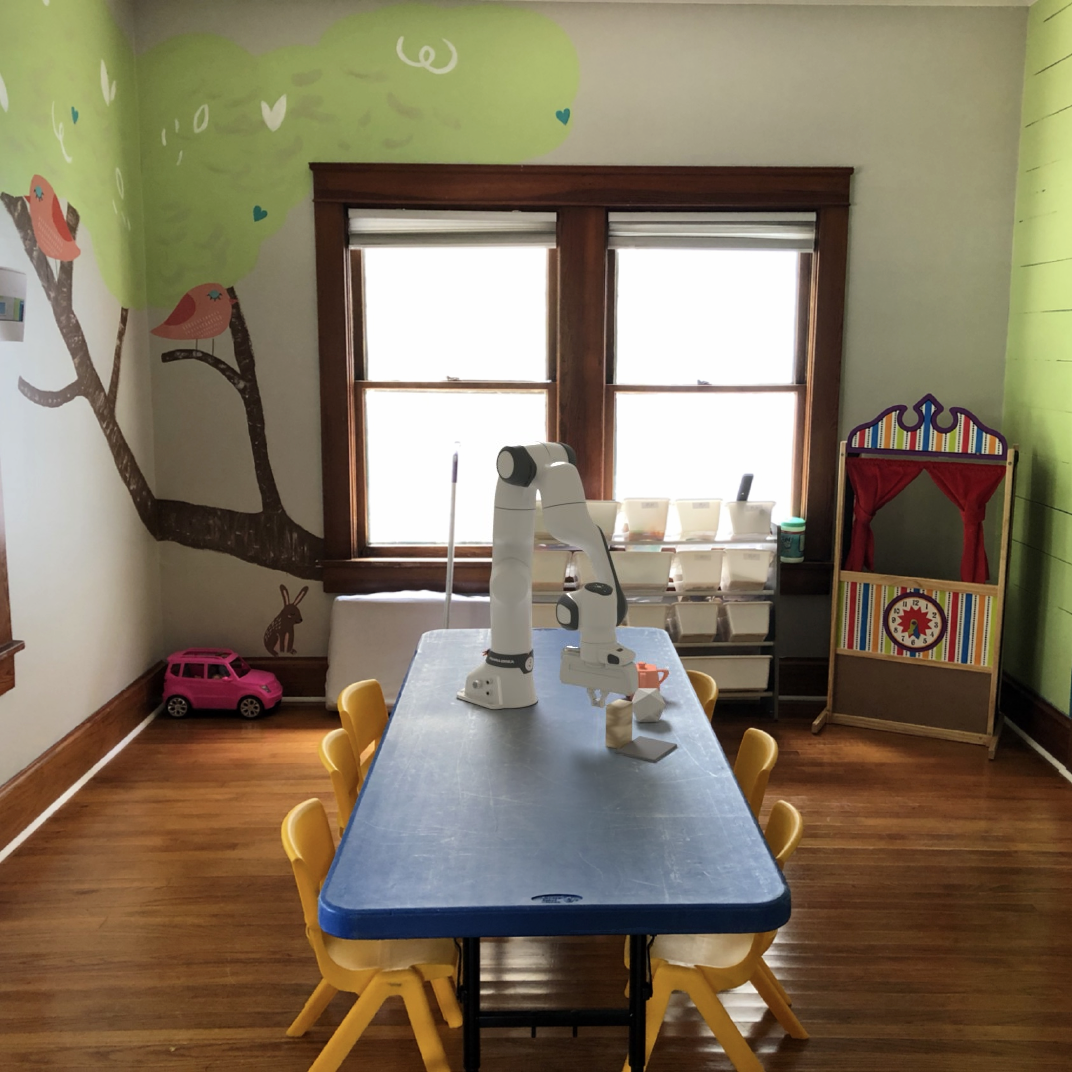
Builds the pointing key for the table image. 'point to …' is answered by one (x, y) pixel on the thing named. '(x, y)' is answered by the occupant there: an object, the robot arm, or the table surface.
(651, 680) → the teapot
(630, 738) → the maple block
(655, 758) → the rubber mat
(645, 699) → the die
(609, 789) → the table surface
